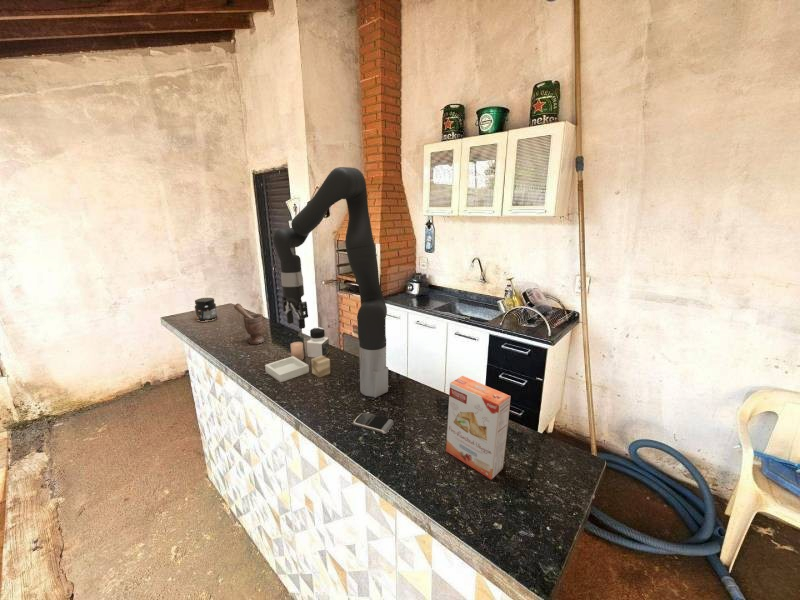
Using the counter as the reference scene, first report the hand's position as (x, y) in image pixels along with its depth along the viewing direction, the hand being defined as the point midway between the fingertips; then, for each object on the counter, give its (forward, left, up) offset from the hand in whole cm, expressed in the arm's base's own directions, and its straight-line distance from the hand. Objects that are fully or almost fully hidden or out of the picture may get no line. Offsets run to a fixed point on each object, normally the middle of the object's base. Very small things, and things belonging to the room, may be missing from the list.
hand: (296, 325), depth 130 cm
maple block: (-6, -6, -20) cm, 21 cm away
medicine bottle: (+10, -15, -20) cm, 27 cm away
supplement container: (+95, +4, -20) cm, 97 cm away
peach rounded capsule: (+12, -6, -20) cm, 24 cm away
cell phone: (-45, +1, -20) cm, 50 cm away
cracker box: (-75, -7, -20) cm, 78 cm away
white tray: (+4, +3, -20) cm, 20 cm away
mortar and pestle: (+43, 0, -20) cm, 47 cm away
